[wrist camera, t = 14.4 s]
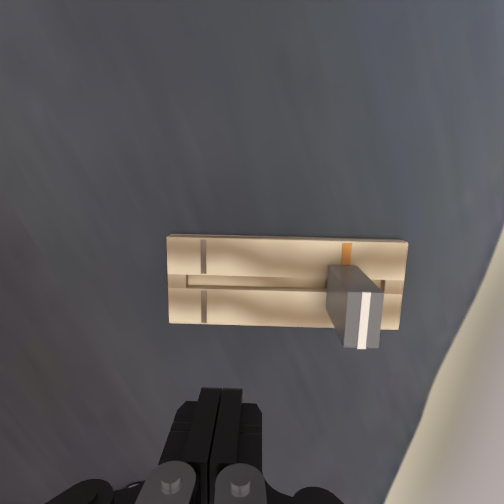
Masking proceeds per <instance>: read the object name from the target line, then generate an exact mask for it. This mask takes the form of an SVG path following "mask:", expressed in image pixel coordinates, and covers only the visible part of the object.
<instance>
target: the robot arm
mask: <svg viewBox="0 0 504 504" xmlns="http://www.w3.org/2000/svg"><path fill="white" fill-rule="evenodd" d="M242 394H243V390H242V389H238V388H223V390H222V388H212V387H202V388H201V392H200V395H199V399H198V401H186V402H185V403H184V404H183V405H182V406H181V407H180V408H179V409H178V410H177V413H176V415H175V418H174V422H173V424H172V427H171V430H170V432H169V435H168V438H167V441H166V444H165V447H164V450H163V452H162V455H161V458H160V461H159V464H158V466H157V467H155V468H154V469H153V470H152V471H151V472H150V473H149V475H148V477H147V478H146V480H145V481H143V482H142V483H140V484H138V485H135V486H132V487H129V488H125V489H120V490H116V491H113V489H112V486H111V485H110V484H109V483H108V482H107V481H104V480H101V479H89V480H85V481H82V482H80V483H77V484H75V485H74V486H72V487H70V488H69V489H67V490H66V491H64V492H63V493H61V494H59V495H58V496H56V497H55V498H53V499H52V500H50V501H48V502H47V503H45V504H344V503H343V502H342V501H341V500H339V499H338V498H337V497H336V496H335V495H334V494H333V493H331V492H329V491H328V490H325V489H323V488H319V487H306V488H303V489H301V490H299V491H298V492H297V493H296V494H295V495H294V496H293V497H291V496H288V495H285V494H282V493H280V492H278V491H276V490H274V489H273V488H272V487H271V486H270V485H269V484H268V483H267V482H266V480H265V479H264V477H263V473H262V413H261V411H260V409H259V408H258V406H257V404H251V403H242Z"/></svg>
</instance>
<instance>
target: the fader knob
mask: <svg viewBox="0 0 504 504" xmlns="http://www.w3.org/2000/svg"><path fill="white" fill-rule="evenodd" d="M383 300H384V292H383V291H382V290H381V289H380V288H379V287H378V286H377V285H376V284H375V283H374V282H373V281H372V280H371V279H370V278H369V277H368V276H367V275H366V274H365V273H364V272H363V271H362V270H361V269H360V268H359V267H358V266H349V265H329V268H328V283H327V298H326V310H327V313H328V315H329V317H330V319H331V321H332V323H333V325H334V328H335V330H336V332H337V334H338V336H339V338H340V340H341V343H342V345H343V347H357V349H366V348H379V339H380V329H381V320H382V310H383Z"/></svg>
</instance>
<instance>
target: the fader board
mask: <svg viewBox="0 0 504 504" xmlns="http://www.w3.org/2000/svg"><path fill="white" fill-rule="evenodd" d="M407 250H408V242H406V241H404V240H402V239H366V238H325V237H283V236H242V235H201V234H170V235H169V236H167V267H168V299H169V323H187V324H221V325H255V326H289V327H323V328H334V325H333V323H332V321H331V319H330V317H329V315H328V313H327V310H326V298H327V283H328V268H329V265H349V266H358V267H359V268H360V269H361V270H362V271H363V272H364V273H365V274H366V275H367V276H368V277H369V278H370V279H371V280H372V281H373V282H374V283H375V284H376V285H377V286H378V287H379V288H380V289H381V290H382V291H383V292H384V300H383V310H382V320H381V329H391V330H398V328H399V320H400V311H401V302H402V294H403V285H404V276H405V268H406V259H407Z"/></svg>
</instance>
